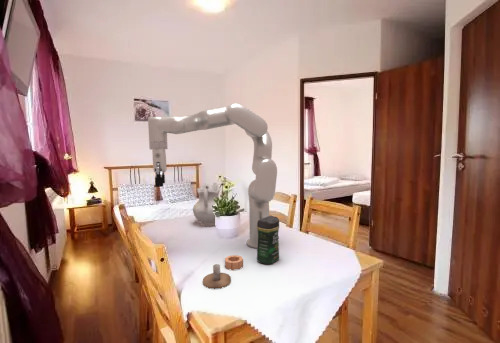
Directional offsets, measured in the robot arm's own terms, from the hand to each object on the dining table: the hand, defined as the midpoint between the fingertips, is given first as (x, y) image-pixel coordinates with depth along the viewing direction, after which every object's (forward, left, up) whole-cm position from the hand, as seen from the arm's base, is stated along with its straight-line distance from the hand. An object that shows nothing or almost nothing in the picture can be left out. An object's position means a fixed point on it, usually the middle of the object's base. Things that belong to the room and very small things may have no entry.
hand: (160, 184), depth 125 cm
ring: (-29, +21, -31) cm, 47 cm away
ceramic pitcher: (-24, -39, -31) cm, 56 cm away
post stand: (-21, +32, -31) cm, 49 cm away
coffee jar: (-44, +19, -31) cm, 57 cm away
